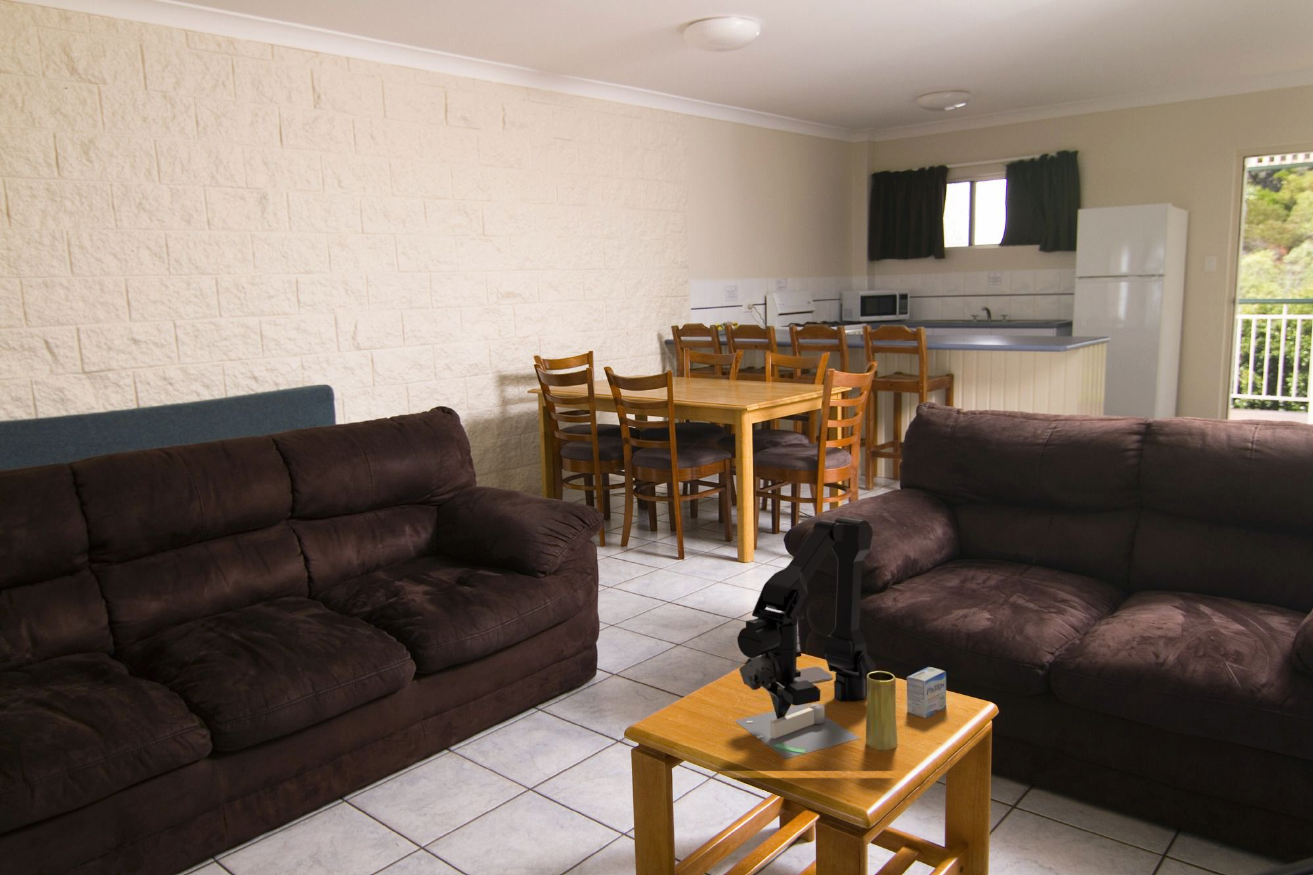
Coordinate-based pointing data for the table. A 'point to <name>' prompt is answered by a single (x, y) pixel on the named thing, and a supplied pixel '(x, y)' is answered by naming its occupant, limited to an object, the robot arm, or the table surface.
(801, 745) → the dial plate
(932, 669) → the medicine box
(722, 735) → the table surface
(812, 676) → the smartphone
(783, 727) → the lever
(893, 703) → the vase
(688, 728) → the table surface
